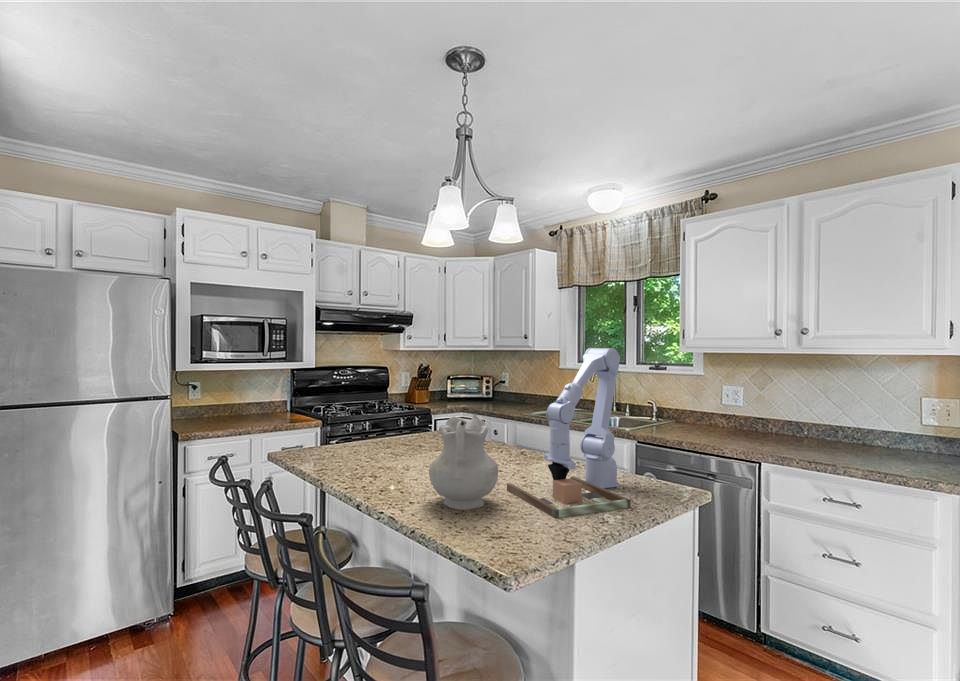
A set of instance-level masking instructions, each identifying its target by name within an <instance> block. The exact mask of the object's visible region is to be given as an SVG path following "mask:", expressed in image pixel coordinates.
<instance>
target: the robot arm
mask: <svg viewBox="0 0 960 681" xmlns="http://www.w3.org/2000/svg"><path fill="white" fill-rule="evenodd" d="M620 360H621V357H620V355H619V353H618V351H617V349H616V348H614V347H610V348H609V347H607V348H604V347H601V348H600V347H599V348H597V347H589V348H587V349H586V350H585V352H584V354H583V355H582V364H581V366H580V368H579V369H578V371H577V373H576V375H575V377H574V379H573V381H572V382H569V383H567V384H565V385H564V387H563V389H562V390H561V392H560V394H559V395H558V397H557V399H556V400H555V402H552V403H550V404H549V405H548V407H547V409H546V411H545V417H546V419H547V420H548V426H549V452H545V453H544V454H543V455H544V456H543V457H544V458H543V459H544V461H545V460H546V461H547V462H551V463H550V464H549V463H548V464H547V467H548V470H549V472H550V473H551V476H552V481H553V480H561V479H567V477H568V474H569V472H570V471H572V470H576V468H577V467H576V466H577V463H576V462H575V461H573V460H572V459H571V458H570V422H572V420H573V419H574V417H575V411H576V406H577V405H578V403H579V401H580V400H581V398H582V397H583V395H584V391H583V388H584V386H585V385H586V384H587V383H588V381H589V380H590V379H591V377H592V376H593V375H594V374H596V375H597V377H598V385H597V391H596V394H595V395H596V397H595V401H594V402H595V404H594V408H593V415H592V421H591V425H590V426H589V427H588V428H586V429H585V430H584V433H583V435H582V438H581V440H580V444H579V445H580V450H581V453H582V454H583V457H585V481H586V482H589V483H591V484H593V485H596V486H598V487H600V488H603V489H608V488H617V487H619V484H617V483H618V477H617V476H618V465H617V461H616V460H615V458H614V457H613V455H614V454H615V450H616V449H615V447H616V446H615V438H616V437H615V434H614V433H613V432H611V430H610V429H609V428H610V420H611V414H612V408H613V402H614V398H615V396H614V395H615V390H616V383H617V377H618V373H619V367H620ZM598 436H599V437H598Z"/></svg>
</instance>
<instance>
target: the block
mask: <svg viewBox="0 0 960 681" xmlns="http://www.w3.org/2000/svg"><path fill="white" fill-rule="evenodd" d="M582 489H583V488H582V483H579V482H577V481H575V480H572V479H571V478H566V479H561V480H553V479H552V499H555V500H556V501H559V502H560V503H562V504H568V503H577V502H582V497H583V496H582V493H583V491H582Z"/></svg>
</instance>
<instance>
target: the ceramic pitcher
mask: <svg viewBox="0 0 960 681" xmlns="http://www.w3.org/2000/svg"><path fill="white" fill-rule="evenodd" d="M484 420H485V418H483V417H482V416H481V415H477V414H473V415H472V418H471V419H470V420H469V421H468V420H465V419H464V418H462V417H458V416H455V415H453V416H451V417H450V418H448V419H447V421H446V422H445V424H444V425H439V428H438V429H439V433H440V435H441V436H442V441H443V447H442V450H441V452H440V453H439V454H438V455H437V456H436V457H435V458H434V459H432V461H431V463H430V466H429V468H428V475H429V480H430V483H431V486H432V488H433V489H434V490H435V491H436V493H437V495H439V496H442V497H444V498H445V499H444V500H443V501H442V503H441V504H442V505H444V506H445V507H448V508H450V509H453V510H463V511H464V510H466V511H471V510H475V509H479V508H482V507H484V505H485V501H484V499H483V498H484V497H486V496H488V495H489V494H491V493H492V491H493V490H494V489H495V487H496V484H497V482H498V479H499V478H498V477H499V467H498V463H497V461H496V459H494V458H493V457H491V455H489V454H488V453H487V451H486V450H485V440H486V438H487V434H488V432H489V430H490V428H489V427H488V425H486V423H485V421H484Z"/></svg>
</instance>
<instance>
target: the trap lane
mask: <svg viewBox="0 0 960 681" xmlns="http://www.w3.org/2000/svg"><path fill="white" fill-rule="evenodd" d="M570 479H572V480H575V481H577V482H579V483H582V489H583V490H587V491H588V492H584V493H583V492H582V497H584V498H586V499H588V500H590V499H591V501H594V503H586V504H579V505H571V506H564V507H559V506H558V505H556V504H554V503H553V501H550V500H548V499H547V498H545V497H542V498H538V497H537V496H535V495H533V494H532V493H530V492H527V491H525V490H524V489H522V488H520V487H519V486H517V485H515V484H513V483H511V482H507V483H506V491H508V492H509V493H512V494H513V495H515V496H516V497H518V498H520V499H522V500H523V501H525V502H526V503H528V504H530V505H532V506H533V507H535V508H537V509H539V510H540V511H542V512H544V513H546V514H547V515H549V516H551V517H552V518H554V519H557V518H565V517H572V516H579V515H580V516H581V515H586V513H587V514H593V512H594V513H600V511H601V512H607V511H613V510H614V511H615V510H621V509H629V508H631V503H632V502H631V499H629V498H626V497H624V496H622V495H619V494H617V493H615V492H612V491H610V490H607V489H606V488H600V487H598V486H596V485H593V484H591V483H589V482H586V480H584V479H581V478H579V477H578V476H577V477H576V476H570Z"/></svg>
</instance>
